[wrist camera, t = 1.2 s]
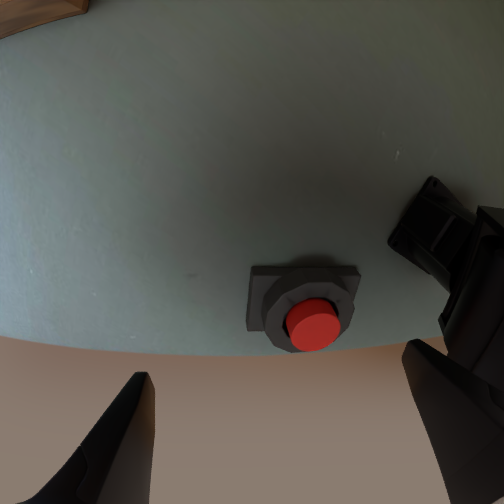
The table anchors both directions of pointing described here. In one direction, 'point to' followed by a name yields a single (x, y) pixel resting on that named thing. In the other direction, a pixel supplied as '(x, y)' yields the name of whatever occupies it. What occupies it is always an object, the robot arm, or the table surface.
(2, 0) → the box lid
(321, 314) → the button
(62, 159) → the table surface
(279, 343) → the control block
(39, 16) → the wooden box
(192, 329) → the table surface
